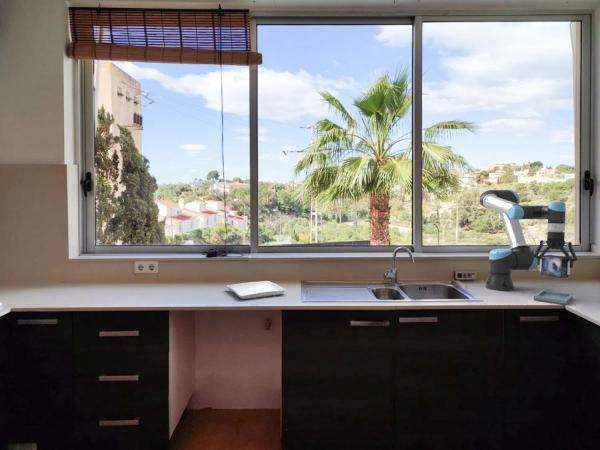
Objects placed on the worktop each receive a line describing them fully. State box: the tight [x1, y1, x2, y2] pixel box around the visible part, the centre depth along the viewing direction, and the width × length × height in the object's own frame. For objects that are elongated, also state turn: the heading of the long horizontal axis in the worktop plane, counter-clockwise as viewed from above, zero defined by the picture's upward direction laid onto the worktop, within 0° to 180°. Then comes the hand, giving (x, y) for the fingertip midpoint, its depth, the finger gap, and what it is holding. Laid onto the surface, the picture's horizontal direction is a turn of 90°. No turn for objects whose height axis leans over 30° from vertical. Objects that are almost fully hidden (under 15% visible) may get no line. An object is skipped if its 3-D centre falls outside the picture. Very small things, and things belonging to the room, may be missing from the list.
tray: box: [533, 289, 574, 306], centre depth 200 cm, size 14×18×2 cm
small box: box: [540, 254, 569, 279], centre depth 199 cm, size 11×6×10 cm, turn 23°
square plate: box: [226, 280, 287, 300], centre depth 217 cm, size 27×27×4 cm
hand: (554, 272), depth 199 cm, fingers closed on small box, 12 cm apart
